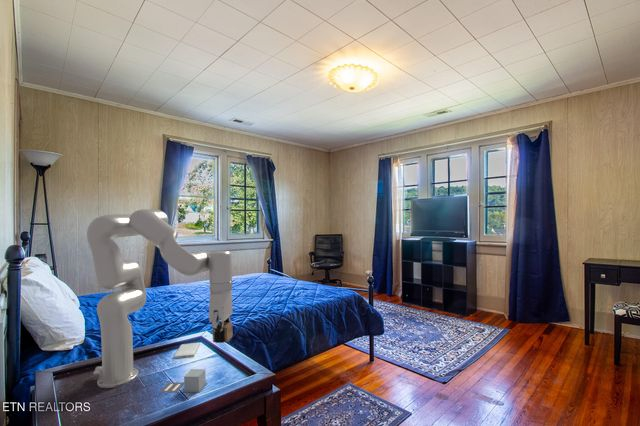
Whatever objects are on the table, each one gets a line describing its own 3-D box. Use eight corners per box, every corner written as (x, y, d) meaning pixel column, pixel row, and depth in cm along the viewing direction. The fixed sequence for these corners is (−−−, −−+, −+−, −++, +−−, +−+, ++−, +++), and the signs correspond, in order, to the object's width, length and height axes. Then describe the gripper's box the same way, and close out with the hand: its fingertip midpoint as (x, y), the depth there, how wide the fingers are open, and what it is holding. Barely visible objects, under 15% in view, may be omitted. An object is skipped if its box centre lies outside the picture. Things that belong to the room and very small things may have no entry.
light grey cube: (184, 391, 104) (184, 376, 104) (191, 383, 109) (191, 369, 109) (199, 391, 103) (198, 376, 103) (205, 383, 108) (205, 369, 108)
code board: (152, 397, 102) (152, 395, 102) (169, 381, 112) (169, 379, 112) (200, 398, 101) (200, 396, 101) (213, 381, 111) (213, 379, 111)
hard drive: (180, 344, 142) (173, 356, 130) (200, 342, 144) (194, 354, 131) (181, 347, 142) (173, 360, 130) (200, 346, 144) (194, 358, 131)
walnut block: (213, 342, 107) (212, 327, 107) (219, 336, 112) (218, 322, 112) (227, 342, 107) (226, 327, 107) (232, 336, 112) (232, 322, 112)
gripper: (220, 281, 118) (222, 330, 118) (199, 293, 101) (201, 349, 101) (239, 281, 118) (241, 329, 117) (222, 292, 101) (224, 349, 101)
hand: (223, 338), depth 109 cm, fingers closed on walnut block, 5 cm apart
